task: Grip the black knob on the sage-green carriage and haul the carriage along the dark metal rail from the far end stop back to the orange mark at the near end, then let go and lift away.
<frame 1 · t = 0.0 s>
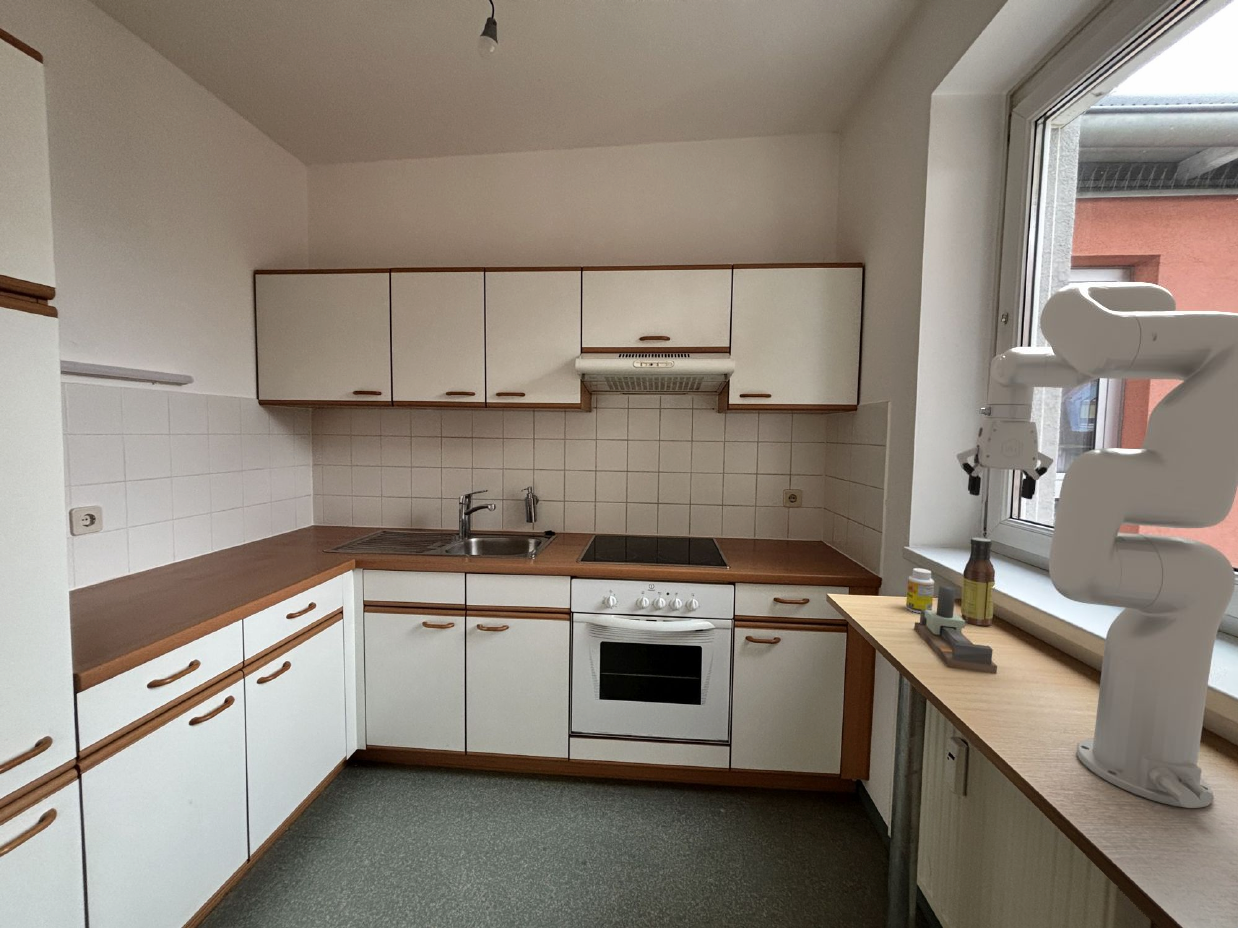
hand: (1000, 496, 111), 31 cm above the kitchen counter, tool pointing down, fingers open, 9 cm apart
rail base: (951, 648, 108), on the kitchen counter
sauce bottle: (975, 622, 125), on the kitchen counter
supplement bottle: (918, 611, 132), on the kitchen counter
carriage: (945, 609, 113), point 7 cm above the kitchen counter, slide at 10.0 cm
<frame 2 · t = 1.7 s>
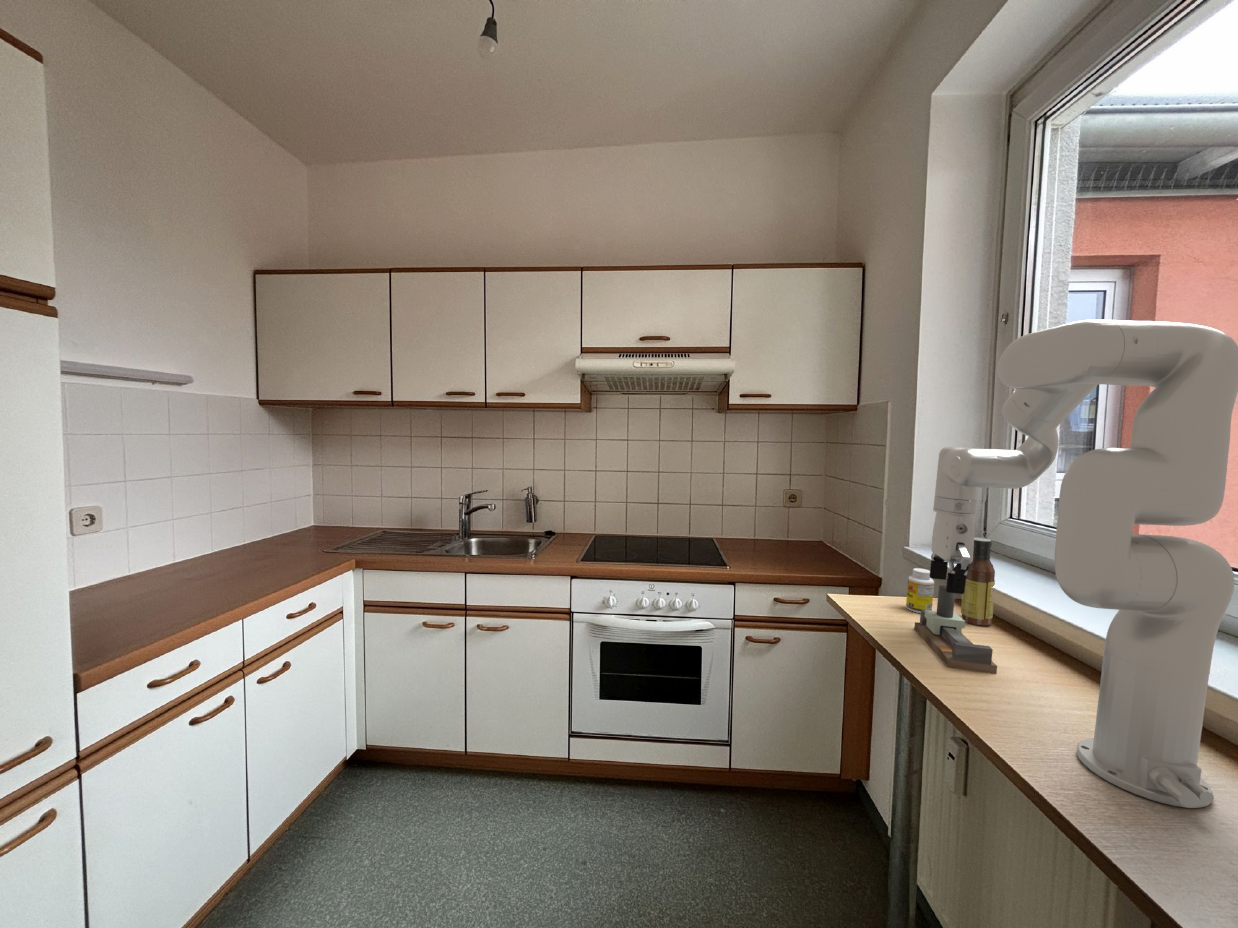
hand: (945, 585, 113), 12 cm above the kitchen counter, tool pointing down, fingers open, 9 cm apart
nothing on the kitchen counter moved.
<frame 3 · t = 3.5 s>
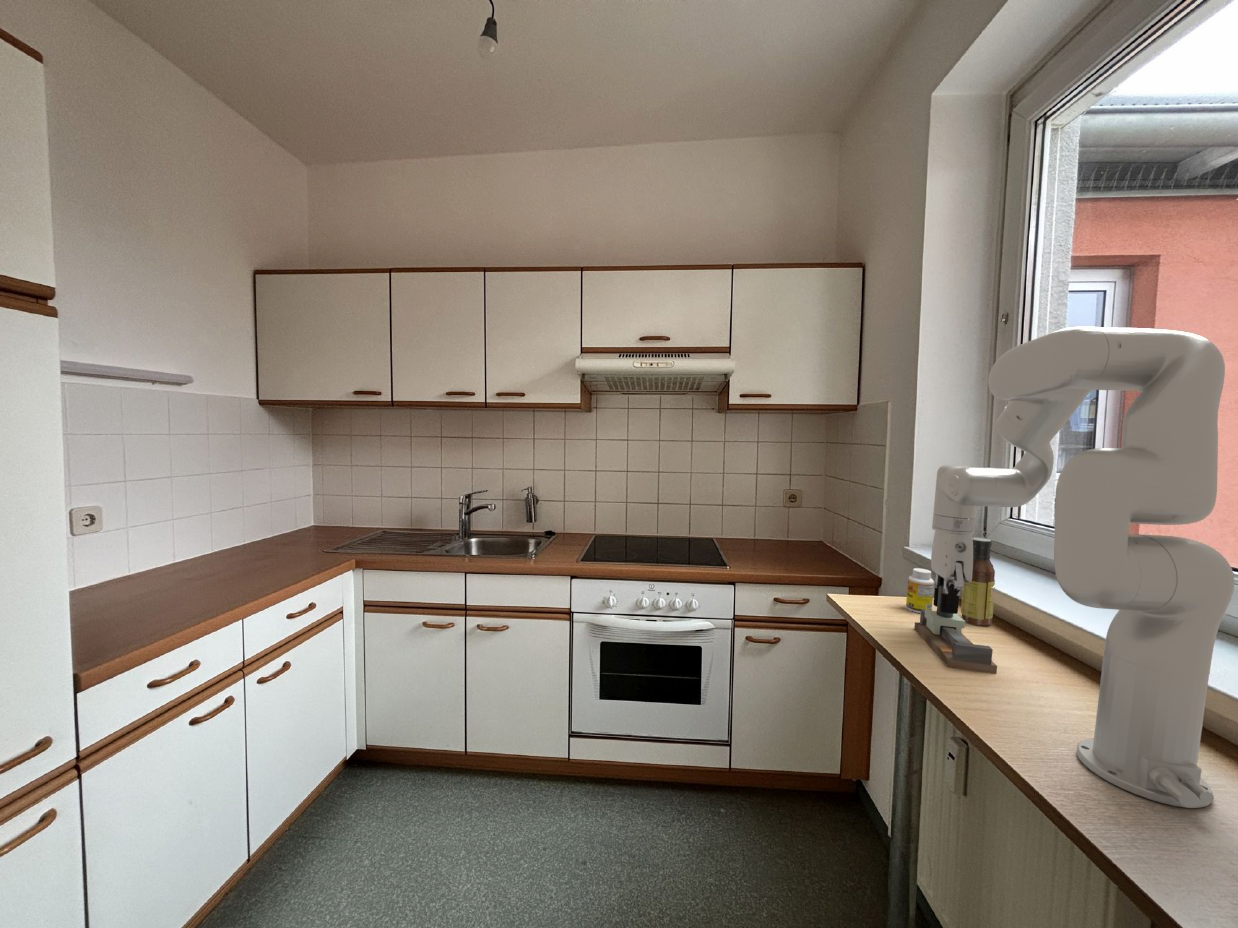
hand: (945, 608, 113), 7 cm above the kitchen counter, tool pointing down, fingers closed on carriage, 3 cm apart
carriage: (945, 609, 113), point 7 cm above the kitchen counter, slide at 10.0 cm, touching gripper
everything else where it was.
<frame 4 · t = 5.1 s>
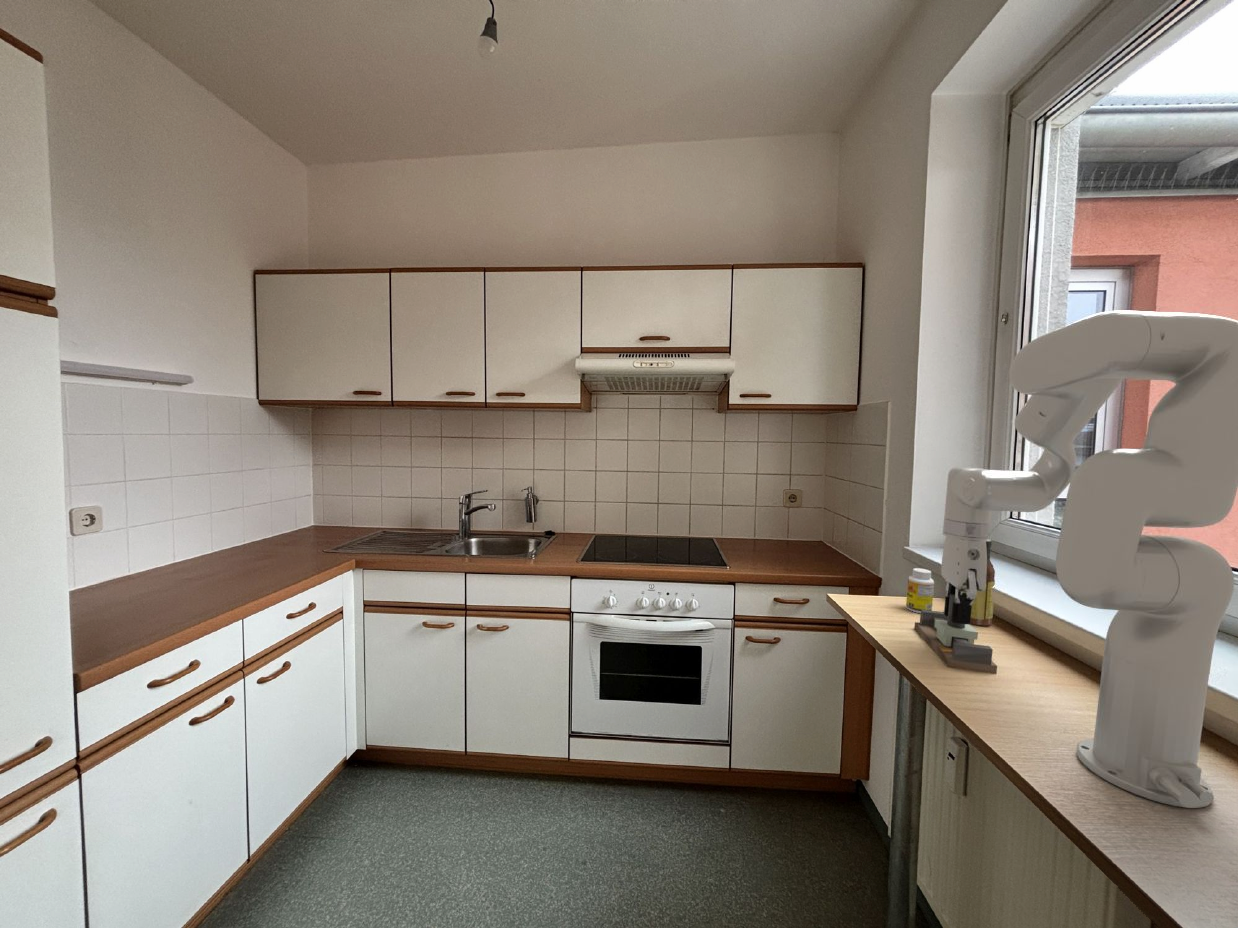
hand: (956, 618, 107), 7 cm above the kitchen counter, tool pointing down, fingers closed on carriage, 3 cm apart
carriage: (956, 619, 107), point 7 cm above the kitchen counter, slide at 3.9 cm, touching gripper
everything else where it was.
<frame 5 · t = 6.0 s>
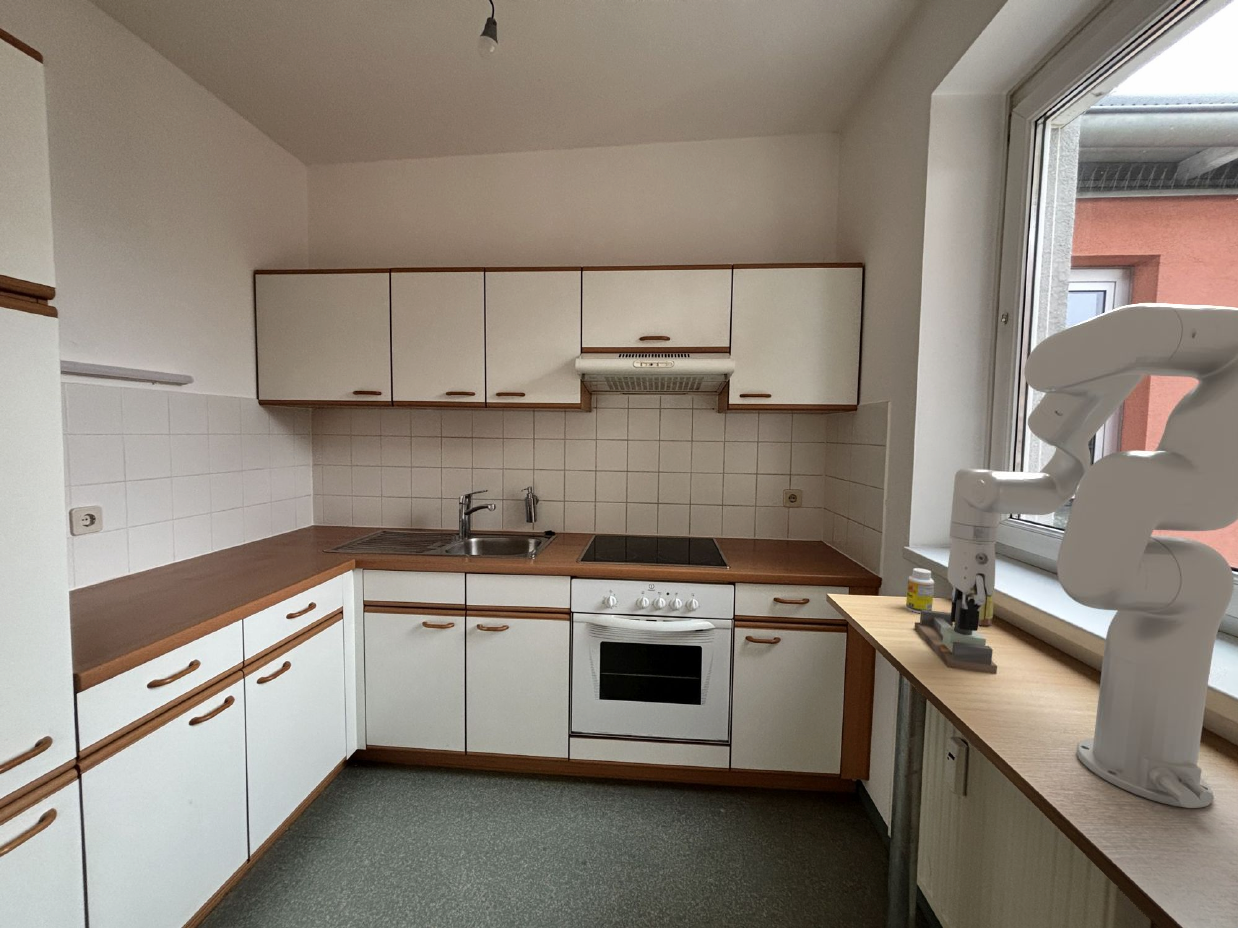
hand: (963, 624, 103), 7 cm above the kitchen counter, tool pointing down, fingers closed on carriage, 3 cm apart
carriage: (963, 625, 103), point 7 cm above the kitchen counter, slide at 0.4 cm, touching gripper
everything else where it was.
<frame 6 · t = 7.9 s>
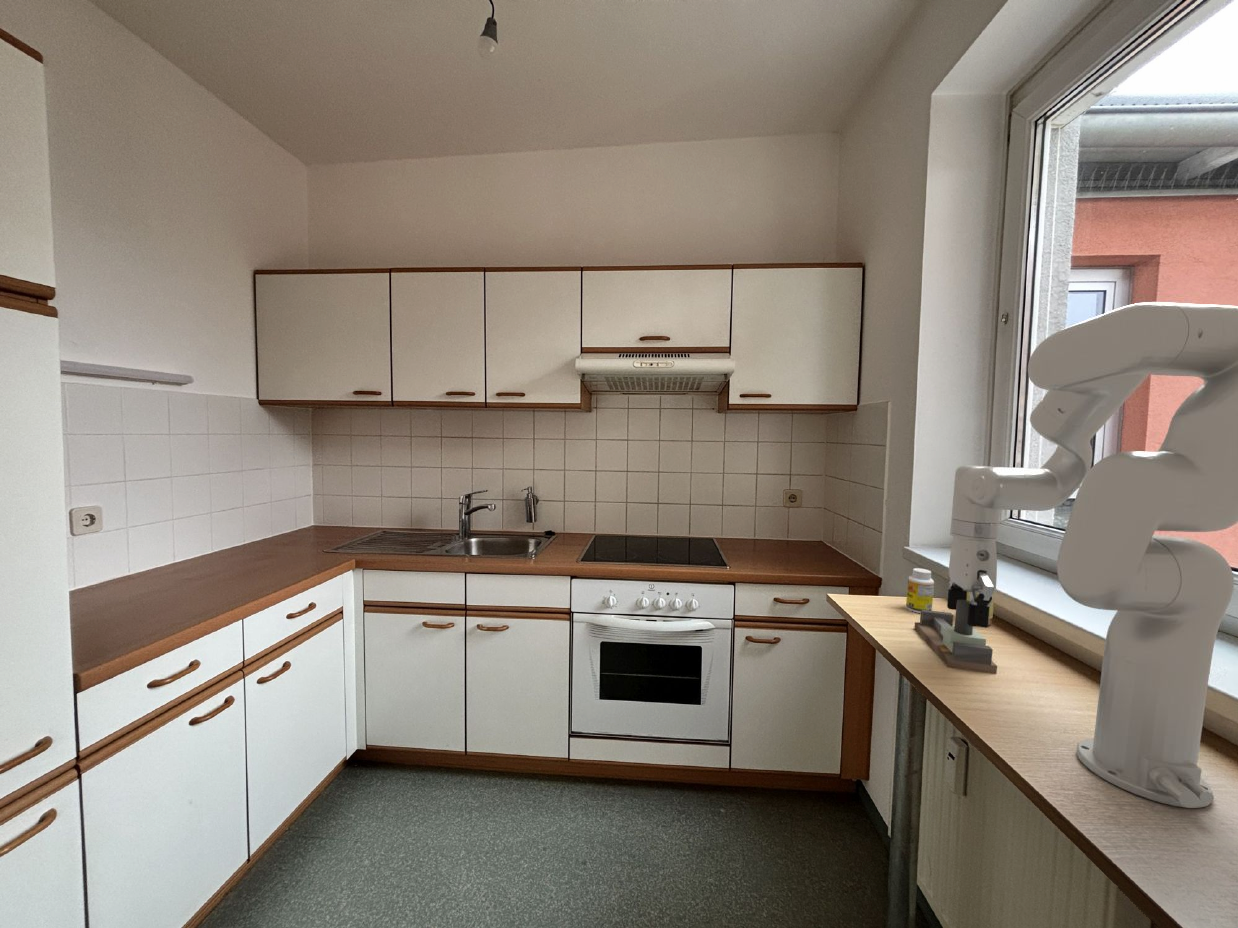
hand: (966, 617, 103), 8 cm above the kitchen counter, tool pointing down, fingers open, 9 cm apart
carriage: (963, 625, 103), point 7 cm above the kitchen counter, slide at 0.3 cm
everything else where it was.
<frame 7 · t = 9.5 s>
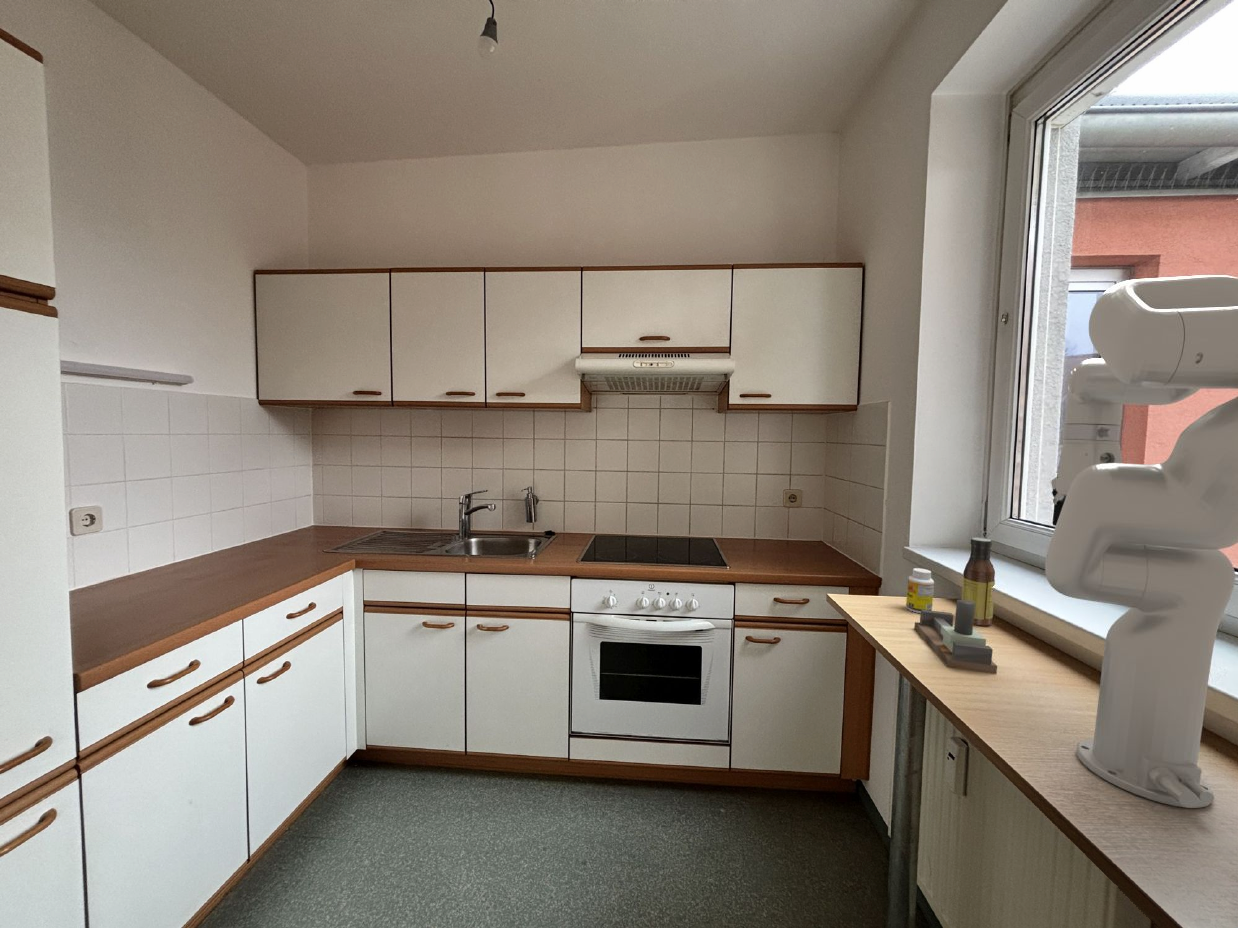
hand: (1079, 530, 96), 27 cm above the kitchen counter, tool pointing down, fingers open, 9 cm apart
nothing on the kitchen counter moved.
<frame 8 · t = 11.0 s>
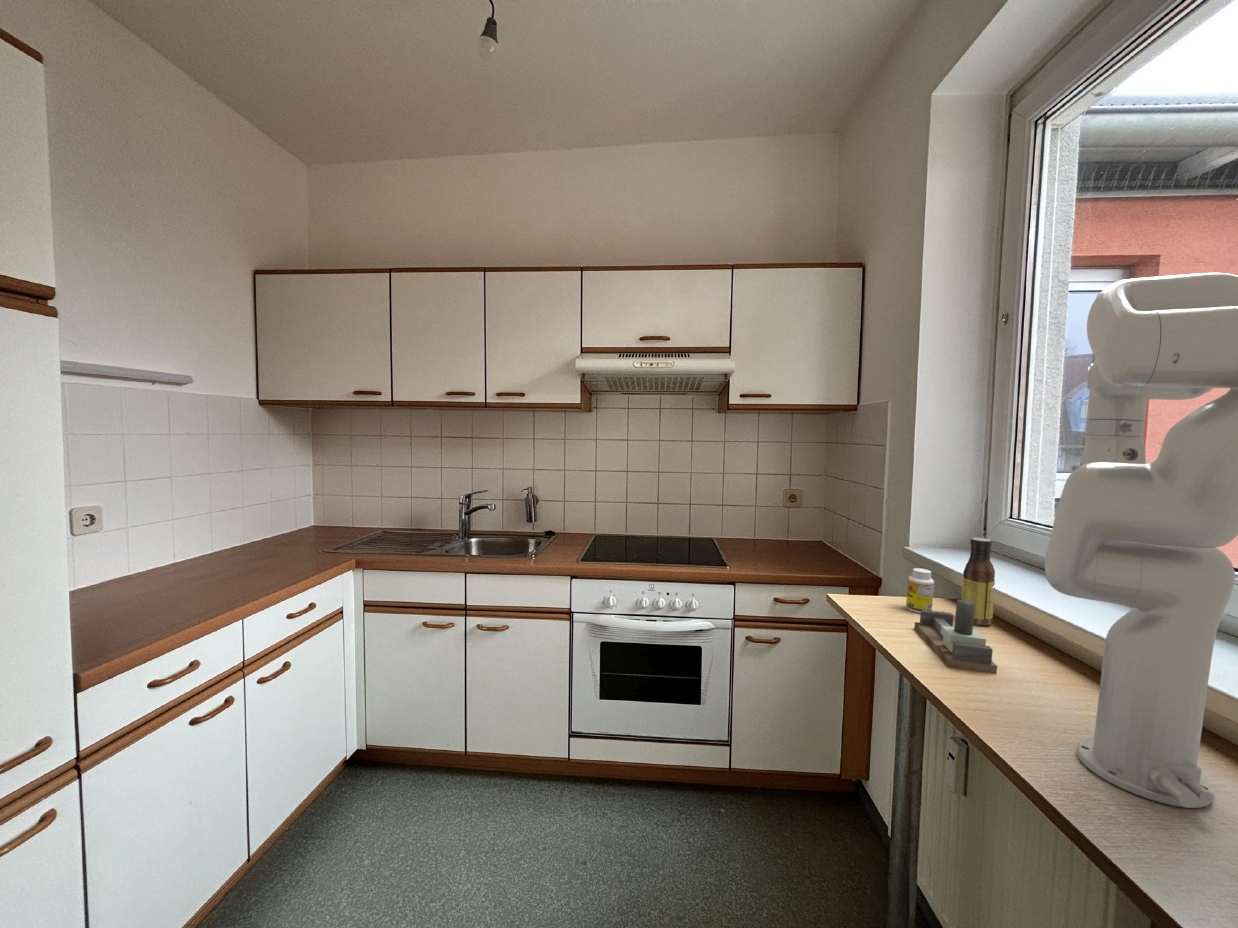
hand: (1102, 527, 94), 28 cm above the kitchen counter, tool pointing down, fingers open, 9 cm apart
nothing on the kitchen counter moved.
at the end: carriage slide at 0.3 cm; the gripper is holding nothing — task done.
